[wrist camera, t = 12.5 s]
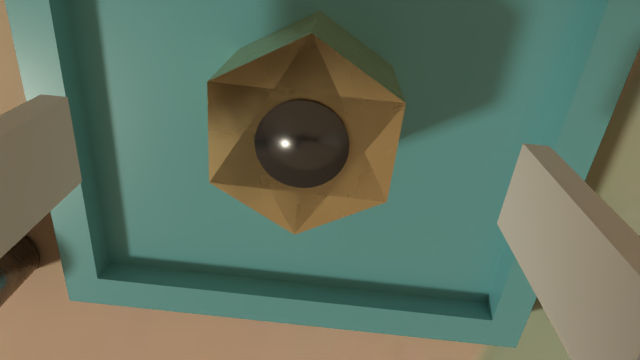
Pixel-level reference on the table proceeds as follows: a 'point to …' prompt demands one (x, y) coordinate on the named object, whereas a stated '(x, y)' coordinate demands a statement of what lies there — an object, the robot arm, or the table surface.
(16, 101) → the table surface
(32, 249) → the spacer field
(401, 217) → the tray
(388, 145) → the nut
